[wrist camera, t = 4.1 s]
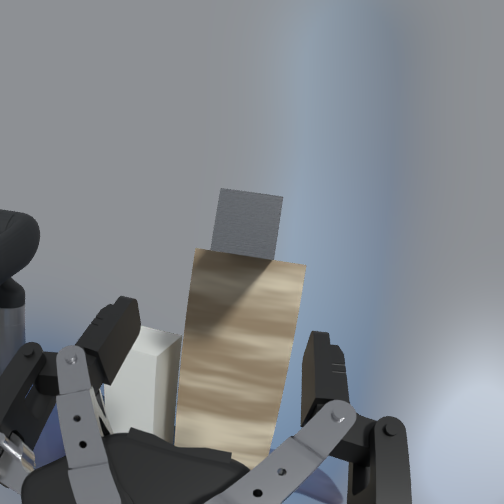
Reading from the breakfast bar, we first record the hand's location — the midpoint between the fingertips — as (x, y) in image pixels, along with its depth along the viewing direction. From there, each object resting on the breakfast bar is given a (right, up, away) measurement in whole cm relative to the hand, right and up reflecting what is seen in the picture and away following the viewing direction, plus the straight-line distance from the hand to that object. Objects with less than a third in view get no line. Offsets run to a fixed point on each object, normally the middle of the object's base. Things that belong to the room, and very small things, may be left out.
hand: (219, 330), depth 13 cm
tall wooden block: (-3, -29, +19) cm, 35 cm away
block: (-14, -27, +18) cm, 36 cm away
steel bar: (+1, +3, +16) cm, 17 cm away
